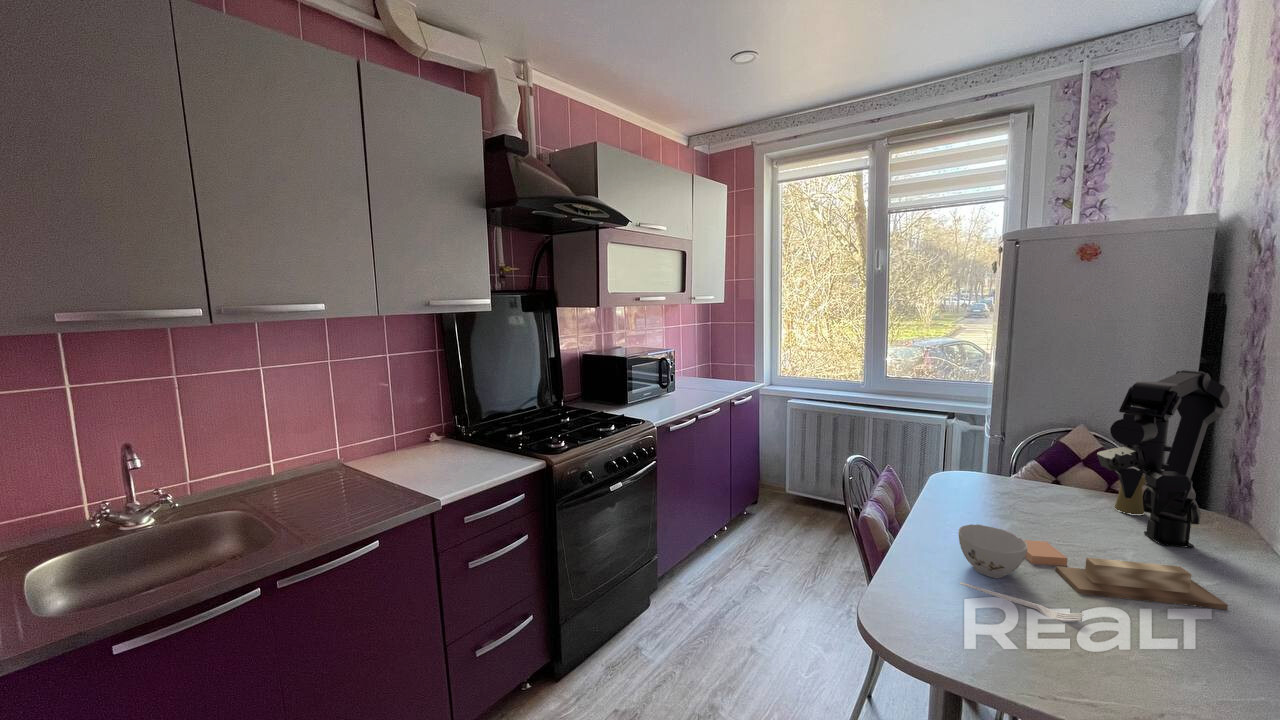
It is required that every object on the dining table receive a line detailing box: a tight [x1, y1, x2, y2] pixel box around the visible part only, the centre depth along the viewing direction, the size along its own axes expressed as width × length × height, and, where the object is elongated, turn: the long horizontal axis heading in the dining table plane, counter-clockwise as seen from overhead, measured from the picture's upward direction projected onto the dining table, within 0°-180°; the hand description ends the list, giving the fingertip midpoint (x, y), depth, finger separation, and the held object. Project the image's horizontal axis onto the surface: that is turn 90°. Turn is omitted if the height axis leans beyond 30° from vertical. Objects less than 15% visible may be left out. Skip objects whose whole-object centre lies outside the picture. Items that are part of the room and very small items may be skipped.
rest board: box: [1054, 565, 1229, 611], centre depth 105 cm, size 24×9×1 cm, turn 75°
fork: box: [958, 582, 1085, 623], centre depth 102 cm, size 3×20×2 cm, turn 45°
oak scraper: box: [1084, 557, 1193, 593], centre depth 105 cm, size 16×3×4 cm, turn 75°
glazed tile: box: [1023, 539, 1068, 567], centre depth 119 cm, size 2×8×7 cm
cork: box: [1114, 474, 1147, 514], centre depth 141 cm, size 6×6×11 cm
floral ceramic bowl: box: [958, 524, 1028, 579], centre depth 113 cm, size 15×12×8 cm
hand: (1141, 505), depth 117 cm, fingers open, 9 cm apart
